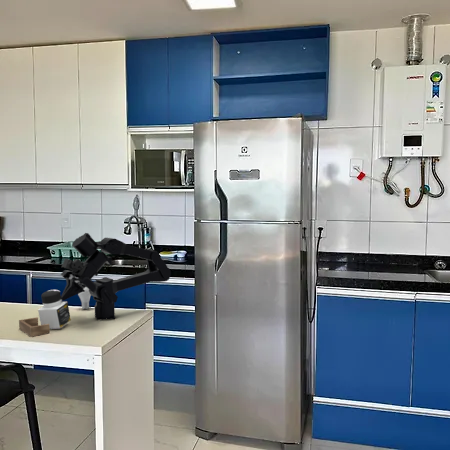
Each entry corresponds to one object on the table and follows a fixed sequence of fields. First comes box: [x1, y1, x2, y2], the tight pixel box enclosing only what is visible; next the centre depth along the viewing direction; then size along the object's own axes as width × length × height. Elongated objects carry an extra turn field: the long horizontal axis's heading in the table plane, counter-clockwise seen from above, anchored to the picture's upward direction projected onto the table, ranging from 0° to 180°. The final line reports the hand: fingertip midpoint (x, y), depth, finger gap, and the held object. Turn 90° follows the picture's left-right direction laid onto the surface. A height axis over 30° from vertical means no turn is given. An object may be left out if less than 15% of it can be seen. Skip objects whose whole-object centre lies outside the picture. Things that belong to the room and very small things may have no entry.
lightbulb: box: [77, 287, 92, 310], centre depth 186 cm, size 6×6×11 cm
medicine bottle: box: [37, 289, 72, 330], centre depth 161 cm, size 7×7×12 cm
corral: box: [18, 316, 51, 338], centre depth 157 cm, size 6×12×3 cm, turn 40°
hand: (61, 299), depth 163 cm, fingers closed, pressing on medicine bottle
